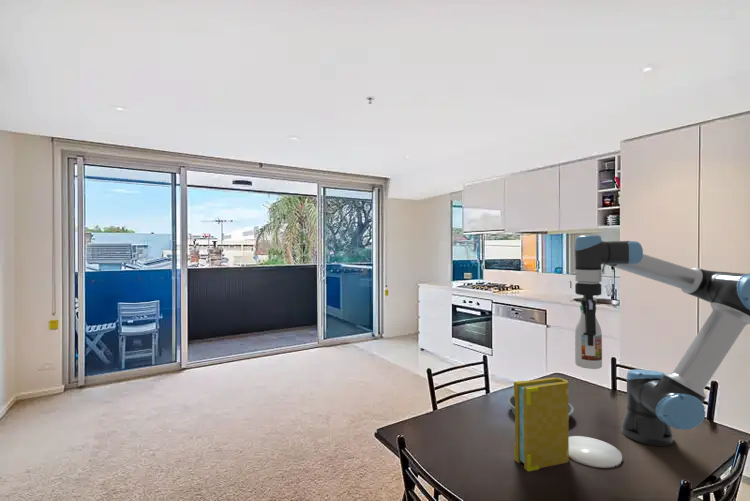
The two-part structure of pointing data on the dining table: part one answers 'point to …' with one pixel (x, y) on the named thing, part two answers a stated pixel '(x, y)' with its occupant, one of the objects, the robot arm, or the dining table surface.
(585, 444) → the white round plate
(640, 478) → the dining table surface
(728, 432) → the dining table surface
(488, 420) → the dining table surface
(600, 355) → the milk bottle
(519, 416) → the book
